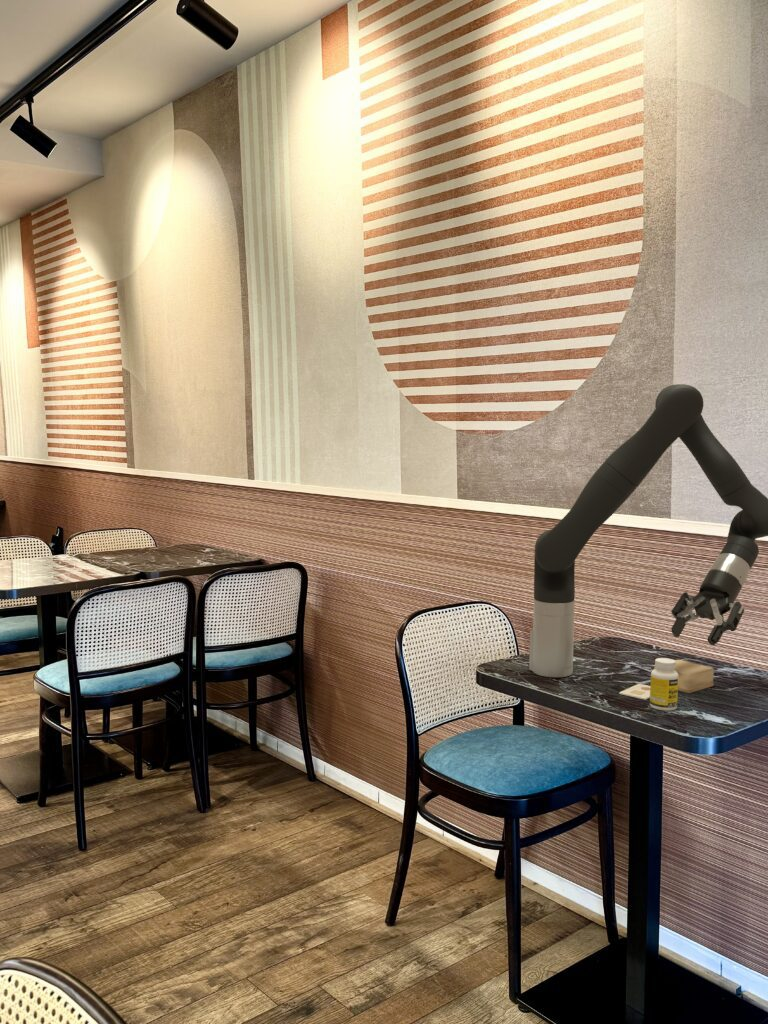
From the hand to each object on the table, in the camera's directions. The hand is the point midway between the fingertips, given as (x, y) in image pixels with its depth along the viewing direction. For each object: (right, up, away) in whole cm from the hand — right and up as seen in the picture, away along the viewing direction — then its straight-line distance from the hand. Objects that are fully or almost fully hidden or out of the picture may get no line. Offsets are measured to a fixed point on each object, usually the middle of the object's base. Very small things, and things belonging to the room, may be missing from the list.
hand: (692, 638), depth 188 cm
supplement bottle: (-7, -14, -4) cm, 16 cm away
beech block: (+2, -12, +11) cm, 16 cm away
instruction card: (-9, -12, +6) cm, 16 cm away
